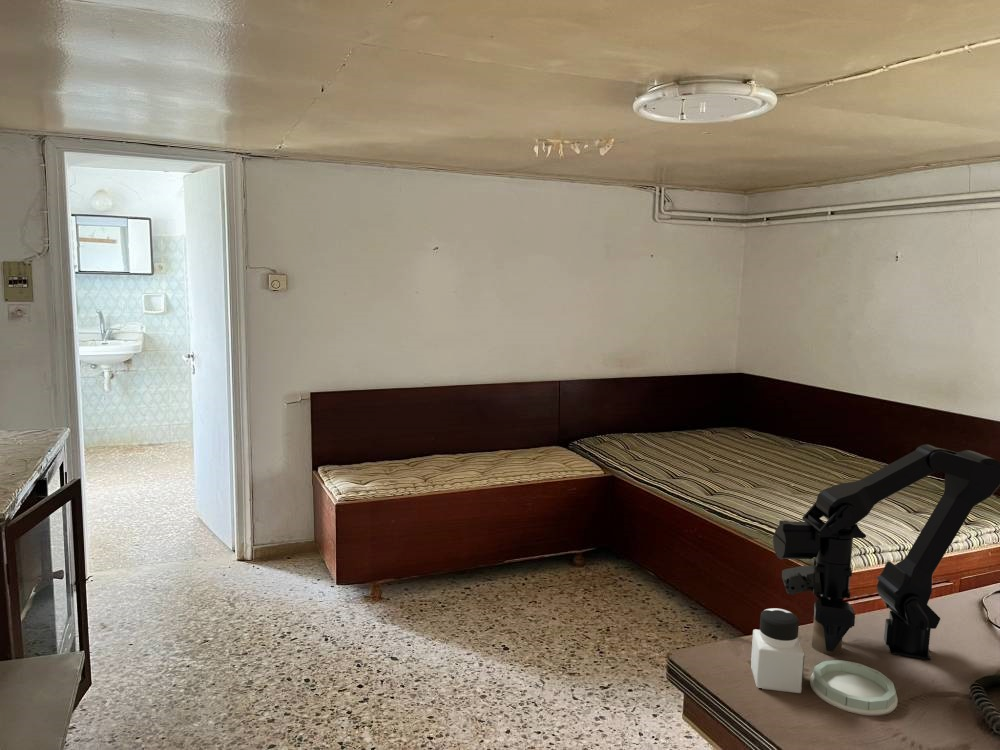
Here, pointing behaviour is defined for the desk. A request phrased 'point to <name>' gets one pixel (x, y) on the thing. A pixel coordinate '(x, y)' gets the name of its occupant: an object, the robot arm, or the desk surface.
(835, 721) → the desk surface
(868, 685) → the ring dish
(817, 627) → the brown domed cylinder
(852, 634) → the desk surface
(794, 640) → the medicine bottle
